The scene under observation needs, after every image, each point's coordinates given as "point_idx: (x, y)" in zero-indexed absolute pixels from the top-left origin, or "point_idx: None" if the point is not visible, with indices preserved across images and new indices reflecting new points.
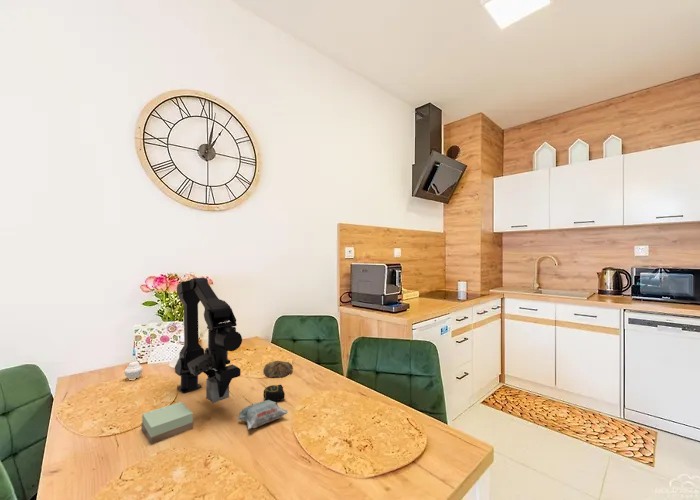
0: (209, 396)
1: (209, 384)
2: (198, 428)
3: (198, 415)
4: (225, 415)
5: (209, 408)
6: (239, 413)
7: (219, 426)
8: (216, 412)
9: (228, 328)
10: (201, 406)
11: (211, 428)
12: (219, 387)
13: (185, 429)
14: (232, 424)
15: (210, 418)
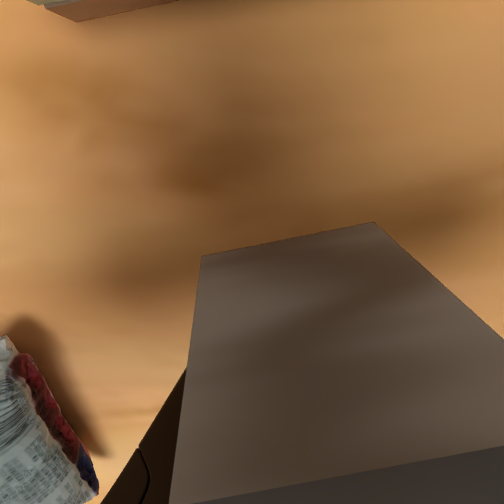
0: (299, 260)
1: (354, 383)
2: (57, 71)
3: (295, 116)
4: (173, 277)
5: (350, 210)
6: (9, 367)
7: (27, 219)
8: (254, 239)
9: None
10: (430, 166)
11: (16, 166)
12: (127, 467)
13: None
14: (24, 290)
15: (185, 188)
